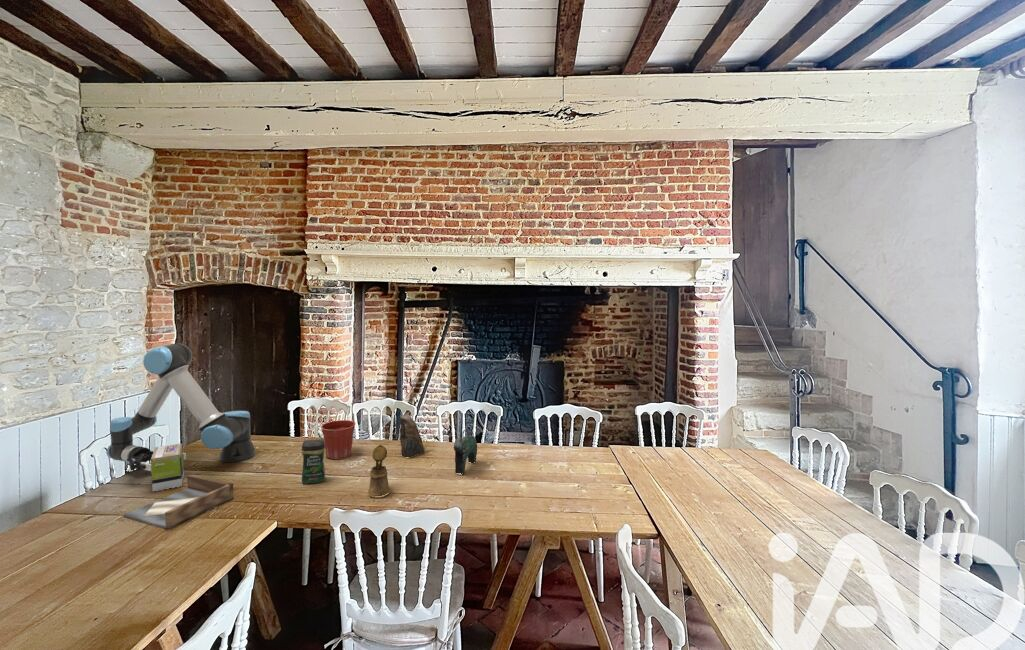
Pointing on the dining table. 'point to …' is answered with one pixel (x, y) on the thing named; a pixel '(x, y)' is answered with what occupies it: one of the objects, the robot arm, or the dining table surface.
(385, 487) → the brown bell
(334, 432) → the flower pot
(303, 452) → the coffee jar
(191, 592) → the dining table surface
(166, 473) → the tea box
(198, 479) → the wooden tray
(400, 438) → the owl
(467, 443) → the ceramic cat
